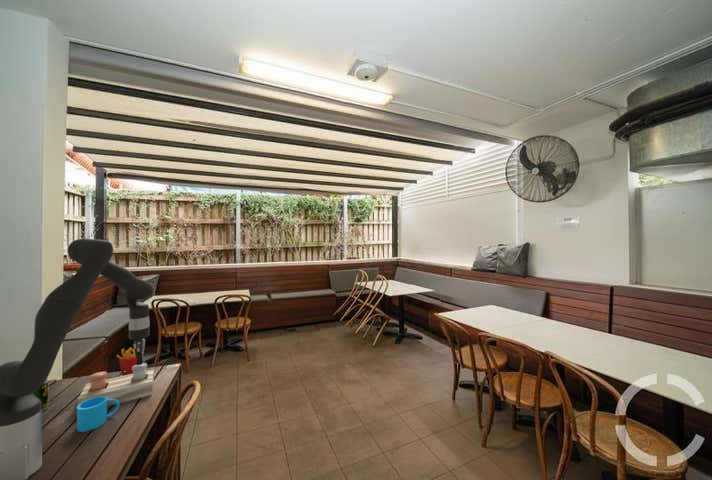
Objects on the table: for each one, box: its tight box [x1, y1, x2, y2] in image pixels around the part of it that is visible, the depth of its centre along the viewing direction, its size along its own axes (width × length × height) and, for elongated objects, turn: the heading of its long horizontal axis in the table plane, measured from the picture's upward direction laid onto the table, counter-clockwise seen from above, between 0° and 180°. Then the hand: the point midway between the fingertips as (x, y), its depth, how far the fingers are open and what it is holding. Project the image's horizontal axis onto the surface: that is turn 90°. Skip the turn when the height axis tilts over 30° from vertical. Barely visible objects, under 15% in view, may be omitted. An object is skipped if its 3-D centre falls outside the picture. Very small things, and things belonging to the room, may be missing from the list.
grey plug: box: [132, 362, 148, 382], centre depth 126 cm, size 5×5×7 cm
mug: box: [76, 397, 121, 433], centre depth 105 cm, size 12×8×8 cm
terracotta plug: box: [89, 370, 108, 392], centre depth 118 cm, size 5×5×7 cm
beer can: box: [33, 377, 50, 412], centre depth 112 cm, size 5×5×12 cm
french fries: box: [116, 347, 137, 376], centre depth 138 cm, size 9×8×15 cm
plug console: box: [77, 368, 155, 407], centre depth 122 cm, size 14×24×6 cm, turn 125°
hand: (139, 364), depth 126 cm, fingers closed
